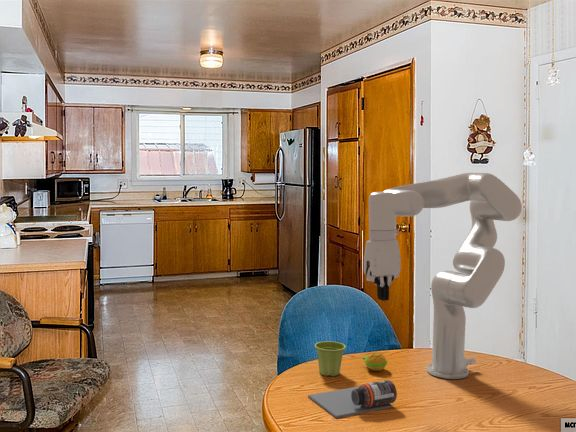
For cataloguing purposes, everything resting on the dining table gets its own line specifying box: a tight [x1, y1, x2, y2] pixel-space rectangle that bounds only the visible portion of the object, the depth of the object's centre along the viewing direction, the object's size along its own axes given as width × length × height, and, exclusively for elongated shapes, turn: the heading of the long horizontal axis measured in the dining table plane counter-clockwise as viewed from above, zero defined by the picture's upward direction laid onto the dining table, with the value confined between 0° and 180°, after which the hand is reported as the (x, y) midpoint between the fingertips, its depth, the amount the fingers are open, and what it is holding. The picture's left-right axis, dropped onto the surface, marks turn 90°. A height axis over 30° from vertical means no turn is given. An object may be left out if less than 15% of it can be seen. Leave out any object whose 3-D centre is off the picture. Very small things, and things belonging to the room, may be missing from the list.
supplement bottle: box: [351, 379, 398, 408], centre depth 153 cm, size 6×6×11 cm
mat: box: [307, 386, 393, 419], centre depth 156 cm, size 17×15×1 cm
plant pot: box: [314, 340, 347, 377], centre depth 179 cm, size 9×9×9 cm
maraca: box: [362, 352, 388, 372], centre depth 183 cm, size 7×10×5 cm
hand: (383, 299), depth 166 cm, fingers closed
